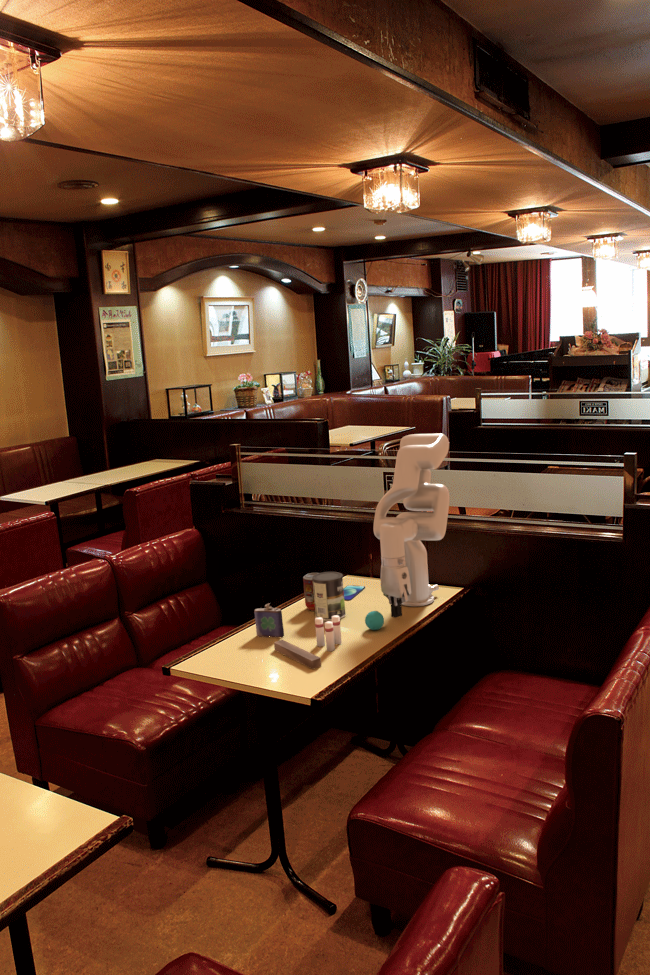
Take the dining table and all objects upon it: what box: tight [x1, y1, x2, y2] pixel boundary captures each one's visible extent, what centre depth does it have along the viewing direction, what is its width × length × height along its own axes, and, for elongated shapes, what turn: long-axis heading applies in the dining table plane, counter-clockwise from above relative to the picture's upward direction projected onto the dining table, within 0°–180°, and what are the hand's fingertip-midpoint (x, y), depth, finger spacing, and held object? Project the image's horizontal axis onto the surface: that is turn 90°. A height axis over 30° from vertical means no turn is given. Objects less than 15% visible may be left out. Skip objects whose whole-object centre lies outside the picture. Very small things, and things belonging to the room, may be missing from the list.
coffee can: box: [312, 571, 346, 622], centre depth 251 cm, size 10×10×14 cm
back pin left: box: [324, 621, 336, 652], centre depth 223 cm, size 2×2×8 cm
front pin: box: [331, 615, 343, 645], centre depth 227 cm, size 2×2×8 cm
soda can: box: [302, 572, 319, 612], centre depth 260 cm, size 7×7×12 cm
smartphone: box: [343, 584, 366, 601], centre depth 275 cm, size 8×1×15 cm
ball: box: [364, 610, 385, 631], centre depth 236 cm, size 6×6×6 cm
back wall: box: [273, 639, 322, 670], centre depth 219 cm, size 3×20×2 cm, turn 36°
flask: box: [253, 602, 285, 638], centre depth 238 cm, size 9×3×11 cm, turn 73°
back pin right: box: [314, 617, 326, 648], centre depth 227 cm, size 2×2×8 cm
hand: (396, 616), depth 241 cm, fingers closed
